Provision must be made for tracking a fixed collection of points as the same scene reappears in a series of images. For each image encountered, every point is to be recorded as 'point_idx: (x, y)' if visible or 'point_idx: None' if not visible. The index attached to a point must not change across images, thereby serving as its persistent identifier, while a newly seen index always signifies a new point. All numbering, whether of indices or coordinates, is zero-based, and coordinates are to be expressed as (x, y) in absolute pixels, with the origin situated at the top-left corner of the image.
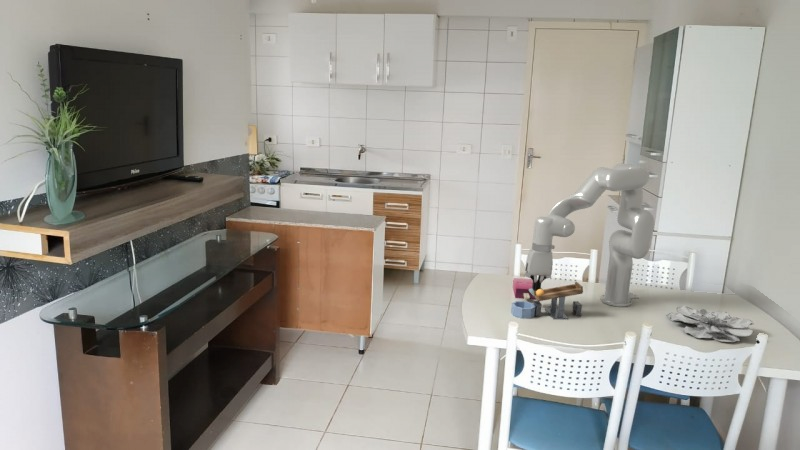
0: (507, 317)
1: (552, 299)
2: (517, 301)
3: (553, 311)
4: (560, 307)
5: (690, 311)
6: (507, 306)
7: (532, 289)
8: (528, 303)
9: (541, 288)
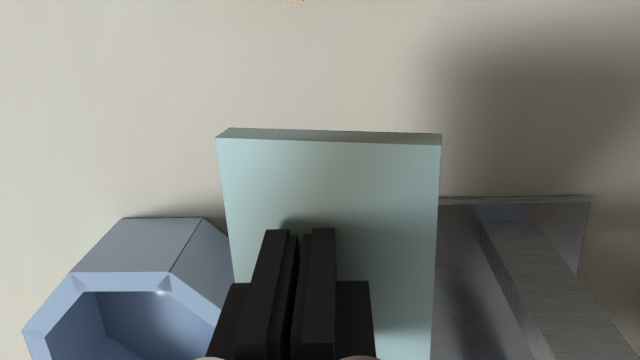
0: None
1: (515, 317)
2: (85, 285)
3: (485, 273)
4: None
5: None
6: (49, 121)
7: (272, 184)
8: (207, 318)
9: (432, 221)
